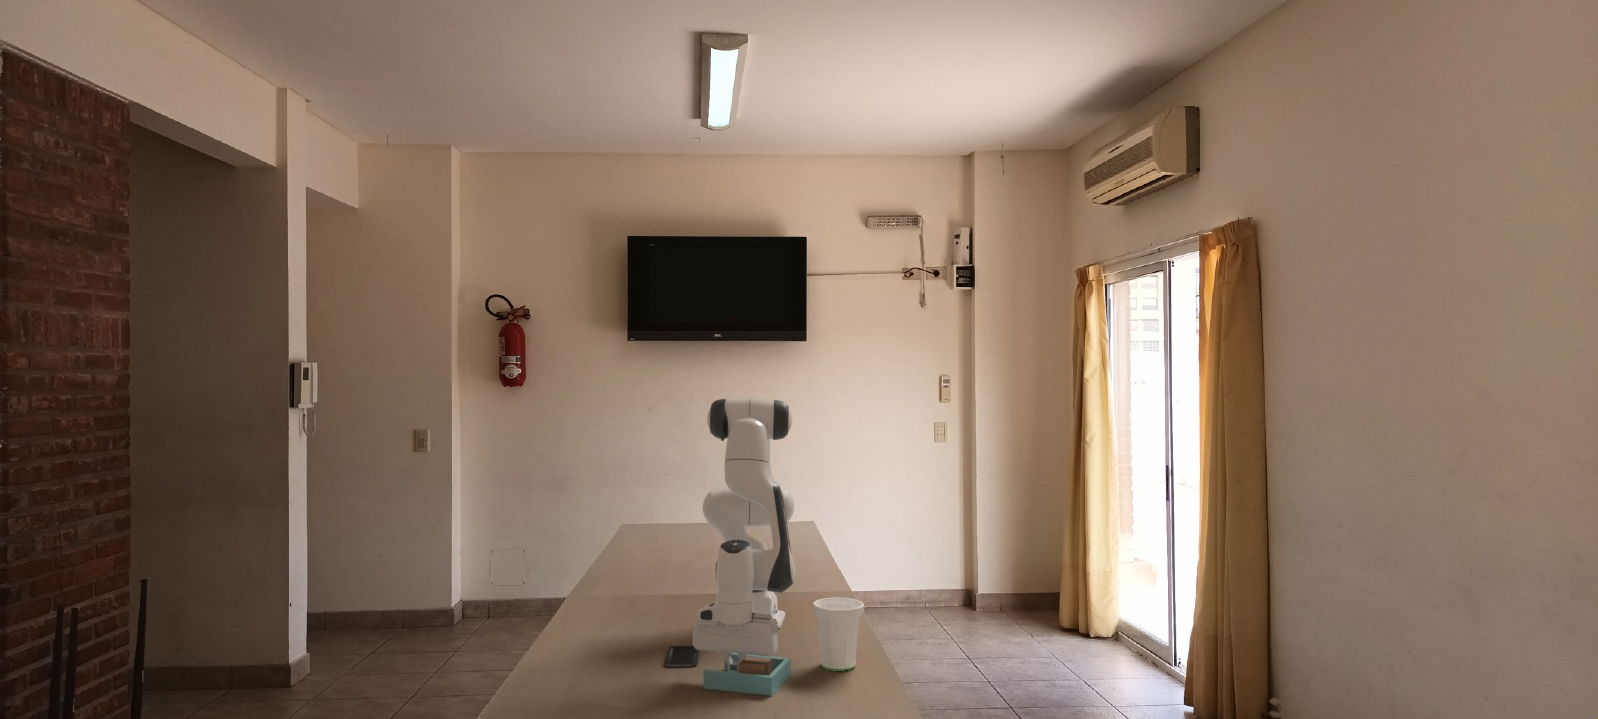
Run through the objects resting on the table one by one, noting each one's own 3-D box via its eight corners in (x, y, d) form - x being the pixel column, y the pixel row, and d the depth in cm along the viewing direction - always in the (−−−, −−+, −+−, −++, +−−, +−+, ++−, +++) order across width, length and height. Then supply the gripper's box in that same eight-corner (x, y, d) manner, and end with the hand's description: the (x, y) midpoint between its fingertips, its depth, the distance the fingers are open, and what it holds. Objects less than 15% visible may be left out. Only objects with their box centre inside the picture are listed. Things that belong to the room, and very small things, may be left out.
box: (726, 668, 223) (726, 652, 223) (790, 675, 218) (790, 658, 218) (703, 688, 209) (703, 670, 209) (772, 695, 204) (772, 677, 204)
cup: (802, 665, 225) (802, 603, 225) (837, 654, 234) (837, 594, 234) (839, 678, 216) (839, 612, 216) (874, 666, 225) (874, 603, 225)
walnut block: (747, 677, 216) (747, 656, 216) (771, 680, 215) (771, 658, 215) (738, 686, 211) (738, 664, 211) (763, 688, 209) (763, 666, 209)
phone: (664, 664, 223) (670, 645, 238) (664, 669, 223) (669, 650, 238) (697, 664, 224) (700, 645, 239) (697, 668, 224) (700, 649, 239)
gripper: (781, 611, 215) (781, 671, 214) (700, 605, 220) (700, 663, 220) (773, 618, 208) (773, 679, 208) (689, 611, 214) (689, 671, 214)
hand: (735, 671), depth 214 cm, fingers closed
